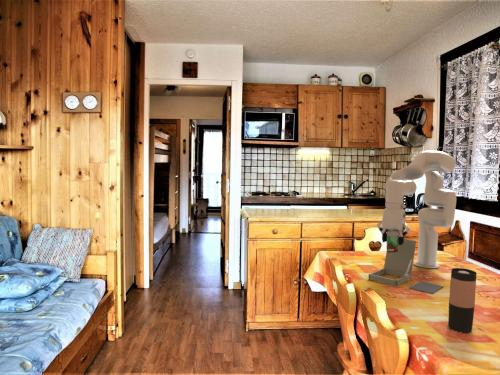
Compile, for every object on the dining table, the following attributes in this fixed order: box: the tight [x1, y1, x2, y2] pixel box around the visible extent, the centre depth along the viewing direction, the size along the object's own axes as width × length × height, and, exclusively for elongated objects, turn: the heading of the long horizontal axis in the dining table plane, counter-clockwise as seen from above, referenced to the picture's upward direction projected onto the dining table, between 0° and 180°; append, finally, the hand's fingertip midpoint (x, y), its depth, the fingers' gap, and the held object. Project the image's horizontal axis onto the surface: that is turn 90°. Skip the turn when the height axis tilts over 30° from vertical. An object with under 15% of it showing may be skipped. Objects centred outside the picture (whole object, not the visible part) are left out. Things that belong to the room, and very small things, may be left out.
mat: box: [408, 280, 444, 295], centre depth 177 cm, size 14×10×1 cm
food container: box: [386, 230, 400, 253], centre depth 187 cm, size 12×6×10 cm, turn 163°
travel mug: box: [447, 267, 478, 334], centre depth 133 cm, size 8×8×20 cm
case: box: [368, 238, 417, 287], centre depth 189 cm, size 21×14×18 cm, turn 137°
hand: (392, 243), depth 187 cm, fingers closed on food container, 7 cm apart
